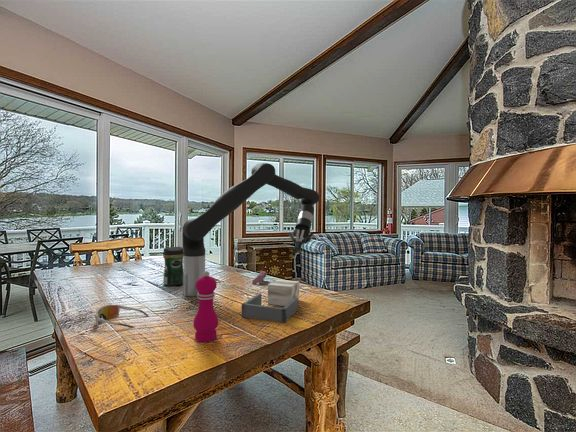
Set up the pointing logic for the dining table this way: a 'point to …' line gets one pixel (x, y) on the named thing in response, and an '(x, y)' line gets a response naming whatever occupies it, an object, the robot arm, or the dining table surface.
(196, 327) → the pepper mill
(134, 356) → the dining table surface
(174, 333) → the dining table surface
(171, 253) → the coffee jar
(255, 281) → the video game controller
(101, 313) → the sunglasses
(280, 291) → the cream block
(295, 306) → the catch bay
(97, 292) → the dining table surface
